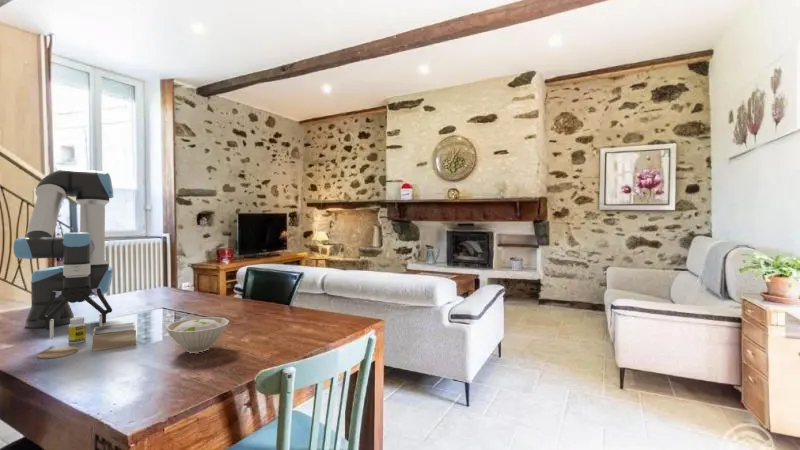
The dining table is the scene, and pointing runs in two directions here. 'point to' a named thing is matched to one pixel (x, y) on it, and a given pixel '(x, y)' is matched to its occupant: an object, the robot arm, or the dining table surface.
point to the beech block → (114, 336)
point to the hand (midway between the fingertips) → (76, 335)
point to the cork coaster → (57, 352)
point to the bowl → (197, 332)
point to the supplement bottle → (76, 330)
